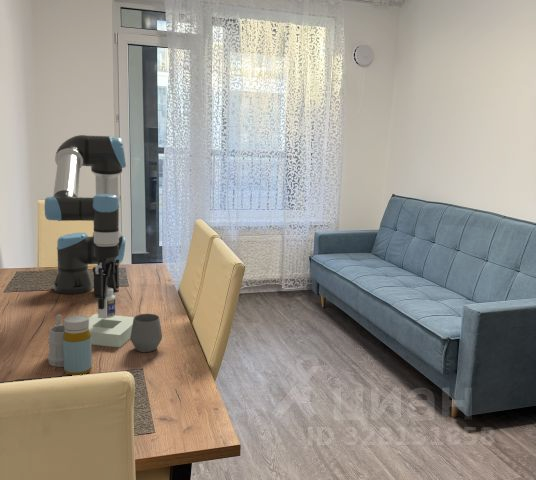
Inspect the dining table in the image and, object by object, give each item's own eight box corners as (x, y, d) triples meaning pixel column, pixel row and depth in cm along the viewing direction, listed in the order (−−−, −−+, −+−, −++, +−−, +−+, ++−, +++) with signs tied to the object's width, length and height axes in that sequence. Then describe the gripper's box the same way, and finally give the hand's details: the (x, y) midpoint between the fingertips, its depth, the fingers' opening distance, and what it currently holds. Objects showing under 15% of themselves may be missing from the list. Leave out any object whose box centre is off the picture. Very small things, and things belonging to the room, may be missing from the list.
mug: (49, 369, 136) (48, 327, 134) (44, 353, 146) (43, 314, 144) (79, 364, 140) (78, 324, 138) (72, 349, 150) (71, 310, 148)
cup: (146, 357, 147) (146, 325, 145) (123, 349, 151) (123, 318, 150) (168, 347, 155) (168, 317, 153) (146, 340, 159) (146, 310, 158)
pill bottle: (110, 319, 158) (109, 292, 156) (95, 317, 159) (94, 290, 157) (118, 314, 163) (118, 287, 161) (103, 312, 164) (103, 286, 162)
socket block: (95, 324, 171) (95, 313, 170) (140, 329, 169) (140, 317, 168) (71, 342, 155) (70, 329, 154) (120, 347, 153) (120, 335, 152)
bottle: (67, 366, 139) (65, 314, 136) (93, 365, 140) (92, 314, 137) (61, 377, 132) (59, 323, 129) (89, 376, 133) (87, 322, 131)
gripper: (108, 238, 166) (108, 305, 170) (80, 248, 148) (81, 323, 152) (129, 239, 165) (129, 307, 169) (104, 250, 147) (105, 325, 151)
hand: (107, 314), depth 161 cm, fingers closed on pill bottle, 5 cm apart
